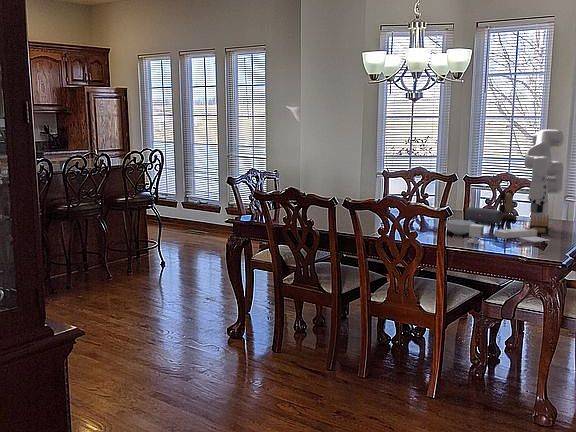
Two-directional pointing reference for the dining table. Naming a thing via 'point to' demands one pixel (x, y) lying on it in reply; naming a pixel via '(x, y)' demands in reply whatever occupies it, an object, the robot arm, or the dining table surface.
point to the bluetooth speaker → (483, 215)
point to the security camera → (475, 233)
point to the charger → (535, 209)
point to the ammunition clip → (540, 224)
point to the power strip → (515, 233)
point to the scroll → (507, 205)
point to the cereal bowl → (459, 226)
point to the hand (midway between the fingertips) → (536, 211)
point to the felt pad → (534, 239)
